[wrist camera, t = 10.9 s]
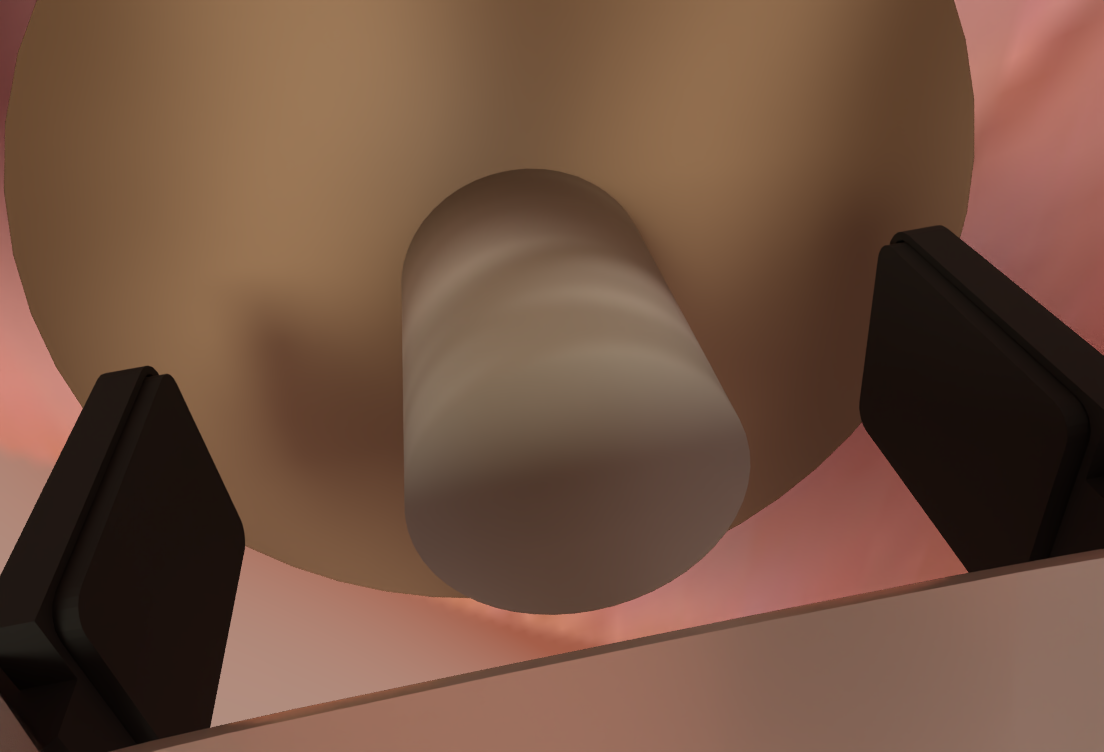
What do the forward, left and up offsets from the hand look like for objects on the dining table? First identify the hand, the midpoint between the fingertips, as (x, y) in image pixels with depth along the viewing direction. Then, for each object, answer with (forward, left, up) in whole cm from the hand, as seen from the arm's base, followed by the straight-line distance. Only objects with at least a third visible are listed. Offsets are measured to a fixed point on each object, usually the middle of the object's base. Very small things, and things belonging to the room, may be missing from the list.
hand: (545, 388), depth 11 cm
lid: (0, 0, -4) cm, 4 cm away
